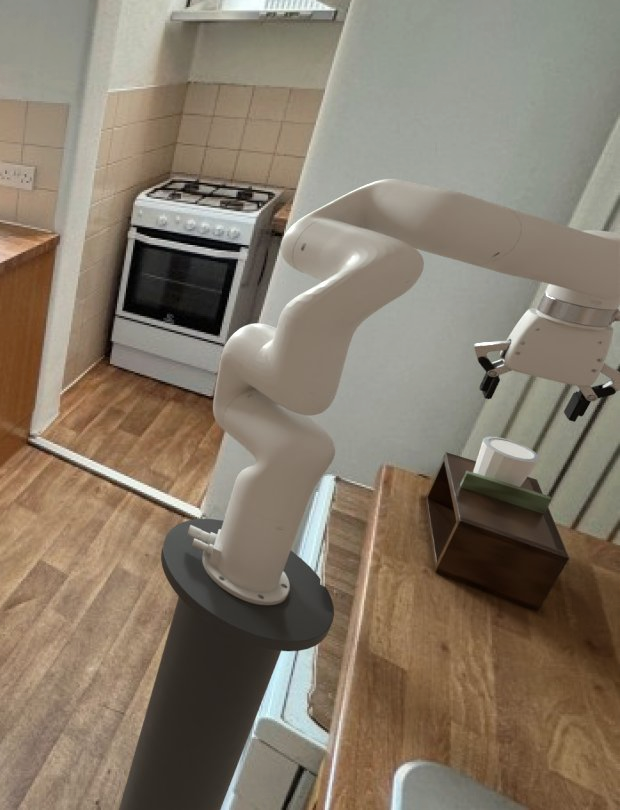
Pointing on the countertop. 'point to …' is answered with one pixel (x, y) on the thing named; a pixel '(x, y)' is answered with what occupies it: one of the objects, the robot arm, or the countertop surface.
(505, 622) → the countertop surface
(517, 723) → the countertop surface
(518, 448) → the white cylinder
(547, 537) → the tray
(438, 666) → the countertop surface
